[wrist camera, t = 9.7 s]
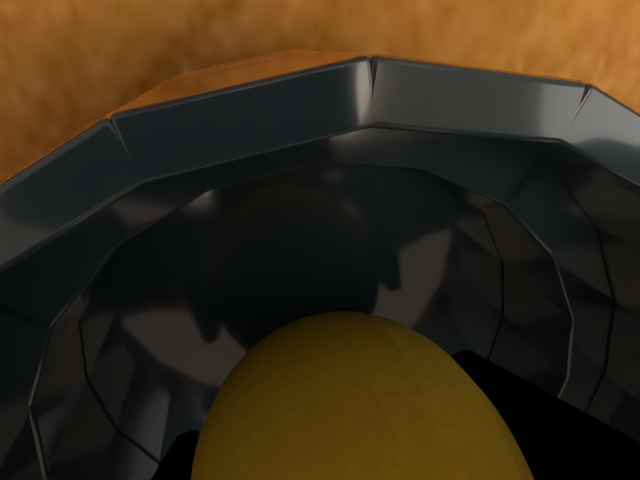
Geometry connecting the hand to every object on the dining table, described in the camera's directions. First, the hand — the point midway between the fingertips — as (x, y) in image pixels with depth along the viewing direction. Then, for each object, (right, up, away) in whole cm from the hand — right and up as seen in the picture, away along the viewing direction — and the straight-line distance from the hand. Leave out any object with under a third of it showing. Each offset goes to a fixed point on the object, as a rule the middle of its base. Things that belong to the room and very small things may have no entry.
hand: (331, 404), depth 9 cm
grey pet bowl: (-1, +1, +2) cm, 3 cm away
